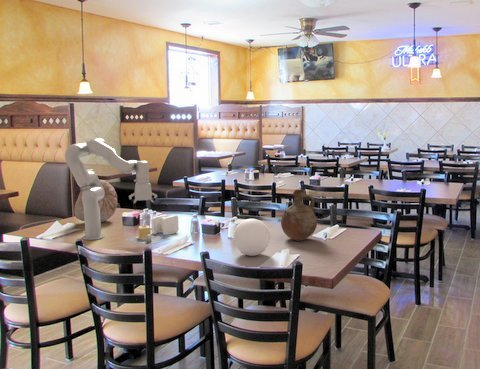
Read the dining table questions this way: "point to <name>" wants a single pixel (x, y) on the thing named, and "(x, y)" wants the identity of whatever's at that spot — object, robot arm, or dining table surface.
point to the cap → (144, 231)
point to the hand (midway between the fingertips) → (143, 208)
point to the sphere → (251, 237)
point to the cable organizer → (165, 224)
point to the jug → (299, 217)
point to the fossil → (105, 204)
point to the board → (156, 239)
